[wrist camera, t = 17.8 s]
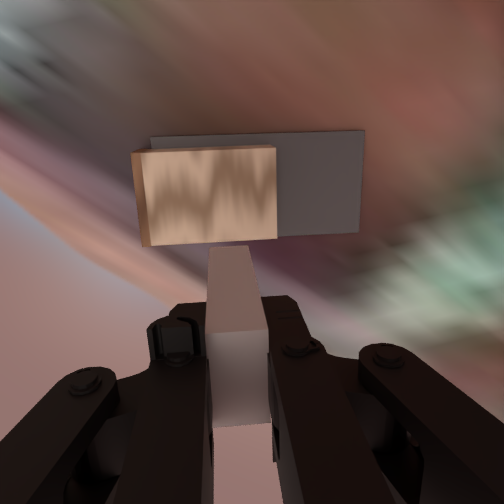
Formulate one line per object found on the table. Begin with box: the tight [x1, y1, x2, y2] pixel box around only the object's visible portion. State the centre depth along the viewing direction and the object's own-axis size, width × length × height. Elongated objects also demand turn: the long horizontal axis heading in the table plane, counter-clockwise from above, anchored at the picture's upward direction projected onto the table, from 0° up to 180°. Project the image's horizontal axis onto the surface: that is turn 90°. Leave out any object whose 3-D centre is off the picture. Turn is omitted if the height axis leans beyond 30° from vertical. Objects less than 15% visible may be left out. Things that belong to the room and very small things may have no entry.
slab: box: [130, 145, 277, 247], centre depth 37 cm, size 8×4×12 cm
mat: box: [150, 130, 365, 236], centre depth 39 cm, size 10×20×1 cm, turn 91°
